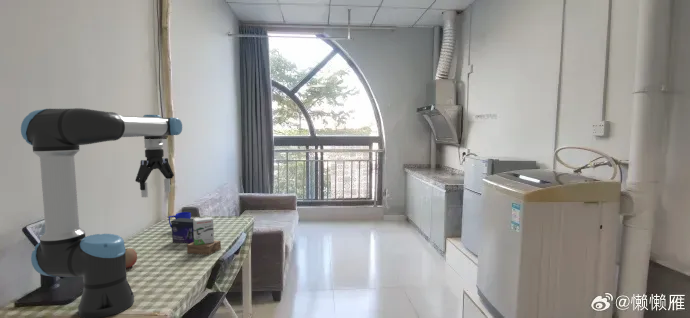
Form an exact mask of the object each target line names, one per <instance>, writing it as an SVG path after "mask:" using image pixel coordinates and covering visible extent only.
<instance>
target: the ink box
mask: <svg viewBox="0 0 690 318" xmlns="http://www.w3.org/2000/svg"><path fill="white" fill-rule="evenodd" d="M192 219H193V230H194V244H195V245H201V244H207V243H214V240H215V238H214V237H215V235H214V233H215V232H214V228H215V227H214V218H213V217H212V216H207V217H197V218H192Z"/></svg>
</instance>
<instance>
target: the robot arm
mask: <svg viewBox="0 0 690 318" xmlns="http://www.w3.org/2000/svg"><path fill="white" fill-rule="evenodd" d="M182 131H183V123H182V121H181V119H180V118H178V117H162V116H161V115H160V114H144V115H143V116H137V115H135V116H133V115H120V114H118V113H116V112H113V111H105V110H103V111H102V110H95V109H90V108H83V107H82V108H80V107H78V108H77V107H76V108H44V109H36V110H33V111H31V112H29V113H28V114H27V115H26V116H25V117H24V118H23V120H22V121H21V125H20V134H21V137H22V139H23V140H25V142H26V143H27V144H29V145H31V146H32V152H33V153H34V154H35V155H36V156H37V157H39V163H40V178H41V188H42V189H41V190H42V191H41V193H42V203H43V214H44V215H43V216H44V229H45V231H44V233H43V234H42V235H41V236H40V237H39V242H38V243H37V244H36V245H35V246H34V250H32V251H31V252H32V253H31V256H30V257H31V258H30V261H31V265H32V267H33V269H34V270H35V272H37V273H38V274H40V275H42V276H48V277H53V278H54V277H55V278H58V277H66V278H67V277H72V278H73V277H80V278H82V281H83V291H82V293H81V296H80V297H81V298H80V302H79V304H78V307H77V309H78V310H77V312H78V316H79V317H80V318H106V317H110V316H113V315H116V314H120V313H121V312H124V311H126V310H127V309H129V308H130V307H131V306H133V305H134V303H135V295H134V292H133V290H132V288H131V285H130V284H129V282H128V278H127V276H128V275H127V268H126V256H125V252H126V249H127V248H126V246H125V240H124V238H123V237H122V236H120V235H117V234H114V233H101V234H100V233H95V234H90V235H87V236H86V231H85V230H84V229H82V227H80V222H79V221H80V220H79V208H78V207H79V206H78V197H77V196H78V194H77V192H78V191H77V180H76V165H75V156H76V155H77V153H78V152H80V146H85V145H86V146H88V145H92V144H93V145H94V144H97V143H99V144H100V143H104V142H112V141H115V142H116V141H118V140H120V139H122V138H133V137H134V138H135V137H136V138H138V137H143V139H144V140H143V143H144V148H145V149H144V157H145V158H146V159H141V160H140V163H139V164H140V165H139V168H138V172H137V174H136V177H135V182H136V183H139V189H140V194H141V195H140V196H141V198H149V193H148V191H149V190H148V182H147V180H148V178H149V176H150V174H151V173H152V171H154V170H157V169H158V171H160V172H161V174H162V175H163V177H164V178H163V183H164V193H171V185H172V184H171V183H172V181H171V179H173V178H174V175H175V174H174V172H173V169H172V168H171V165H170V163H169V158H167V157H164V149H163V148H164V141H163V140H164V139H163V138H164V137H163V136H172V137H173V136H178V135H180V134H181V133H182Z"/></svg>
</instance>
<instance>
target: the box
mask: <svg viewBox="0 0 690 318" xmlns="http://www.w3.org/2000/svg"><path fill="white" fill-rule="evenodd" d="M193 219H194V218H191V219H189V218H178V219H176V218H175V219H173V220H170V223H171V226H172V228H171V237H172V238H171V239H172V243H174V244H175V243H176V244H186V245H188V244H190V243H192V242H194V230H193Z"/></svg>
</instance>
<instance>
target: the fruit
mask: <svg viewBox="0 0 690 318" xmlns="http://www.w3.org/2000/svg"><path fill="white" fill-rule="evenodd" d="M125 249H126V252H125V256H126V269H129V268H131V267H133V266H134V265H135V264H136V263H137V260H138V254H137V252H136V250H135V249H133V248H131V247H127V248H125Z"/></svg>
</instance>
